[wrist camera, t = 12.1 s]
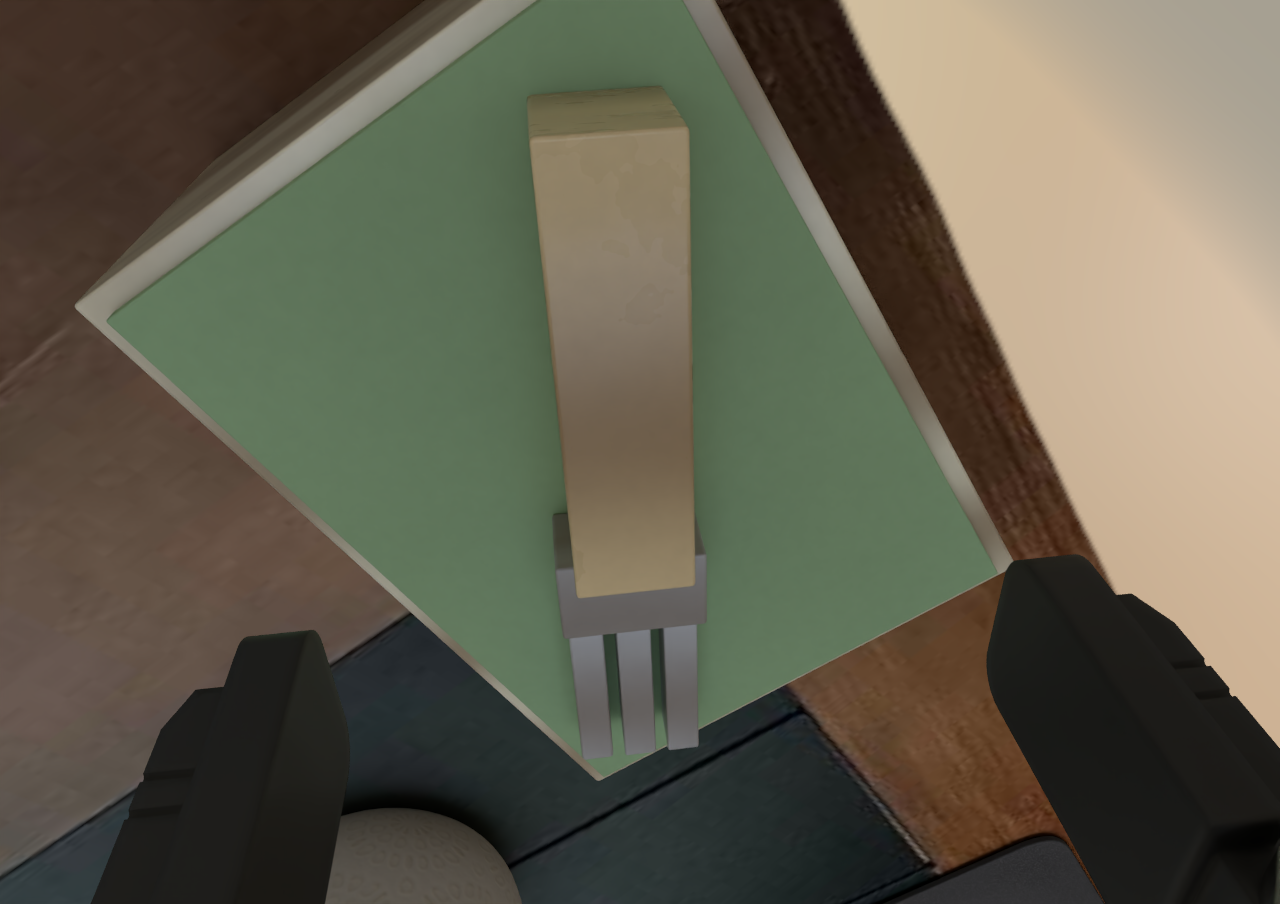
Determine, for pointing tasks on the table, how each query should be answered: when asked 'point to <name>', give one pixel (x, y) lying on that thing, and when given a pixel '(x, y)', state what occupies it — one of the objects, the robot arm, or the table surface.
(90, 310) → the stand
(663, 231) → the fork
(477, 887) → the planter
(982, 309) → the table surface
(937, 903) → the mouse pad
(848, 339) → the green rectangular slab
